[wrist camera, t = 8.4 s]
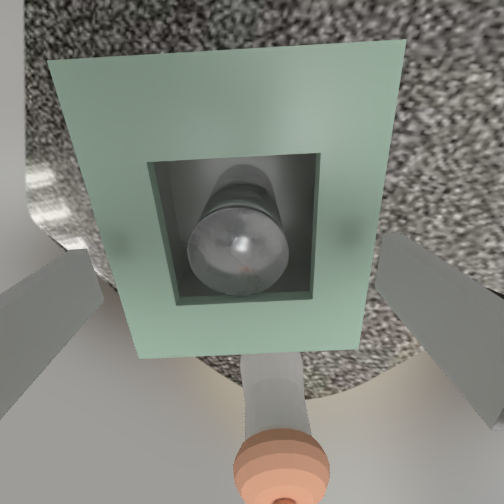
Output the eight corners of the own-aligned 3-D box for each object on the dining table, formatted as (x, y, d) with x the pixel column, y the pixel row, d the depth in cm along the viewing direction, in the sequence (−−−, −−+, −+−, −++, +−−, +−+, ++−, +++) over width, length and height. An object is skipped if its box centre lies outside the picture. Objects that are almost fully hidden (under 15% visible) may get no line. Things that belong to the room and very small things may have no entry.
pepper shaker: (244, 295, 32) (237, 485, 15) (300, 303, 33) (359, 495, 15) (235, 340, 35) (222, 542, 18) (288, 346, 36) (324, 549, 18)
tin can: (210, 164, 25) (179, 210, 14) (274, 162, 25) (291, 206, 14) (216, 224, 28) (194, 297, 17) (273, 222, 28) (286, 295, 17)
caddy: (148, 98, 23) (46, 60, 12) (326, 88, 23) (406, 39, 11) (181, 272, 31) (138, 358, 19) (316, 266, 31) (358, 349, 19)
